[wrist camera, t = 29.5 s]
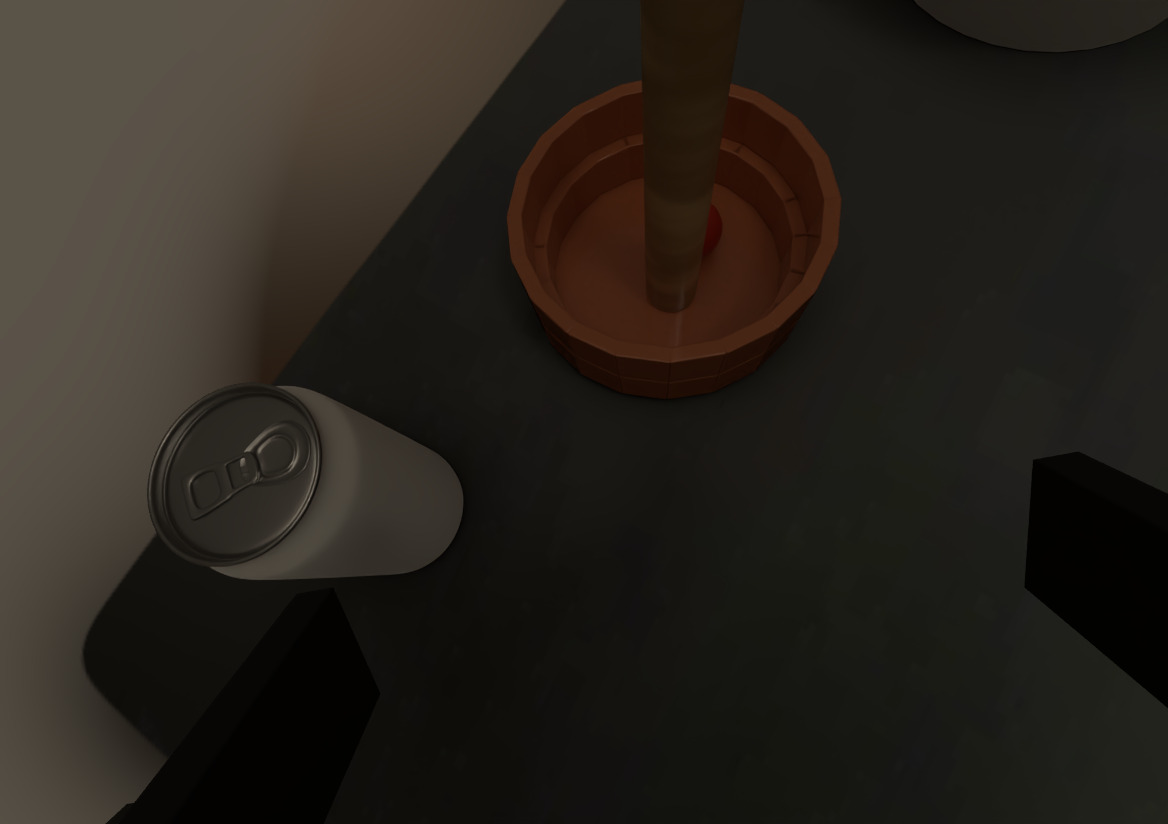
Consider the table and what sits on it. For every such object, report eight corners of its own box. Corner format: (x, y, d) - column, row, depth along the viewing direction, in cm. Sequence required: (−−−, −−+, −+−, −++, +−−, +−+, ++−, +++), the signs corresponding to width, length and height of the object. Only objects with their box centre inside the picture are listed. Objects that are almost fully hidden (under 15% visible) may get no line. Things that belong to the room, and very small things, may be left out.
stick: (639, 276, 29) (622, -148, 12) (686, 262, 29) (740, -188, 11) (654, 319, 28) (660, -67, 11) (702, 304, 28) (786, -110, 11)
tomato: (710, 215, 29) (656, 226, 29) (718, 178, 26) (657, 191, 27) (723, 264, 28) (667, 275, 29) (733, 232, 26) (670, 245, 26)
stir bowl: (496, 234, 32) (461, 160, 26) (716, 126, 32) (731, 29, 26) (604, 450, 27) (591, 420, 22) (857, 324, 28) (911, 262, 22)
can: (486, 536, 27) (363, 517, 15) (369, 597, 27) (158, 623, 15) (438, 425, 29) (297, 334, 17) (329, 481, 29) (114, 427, 17)
